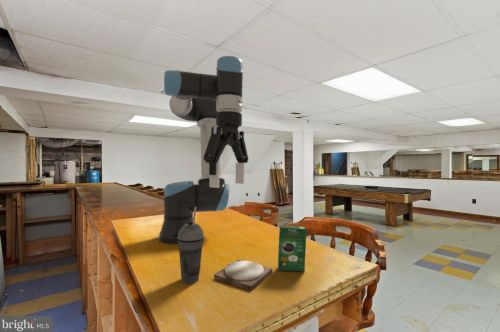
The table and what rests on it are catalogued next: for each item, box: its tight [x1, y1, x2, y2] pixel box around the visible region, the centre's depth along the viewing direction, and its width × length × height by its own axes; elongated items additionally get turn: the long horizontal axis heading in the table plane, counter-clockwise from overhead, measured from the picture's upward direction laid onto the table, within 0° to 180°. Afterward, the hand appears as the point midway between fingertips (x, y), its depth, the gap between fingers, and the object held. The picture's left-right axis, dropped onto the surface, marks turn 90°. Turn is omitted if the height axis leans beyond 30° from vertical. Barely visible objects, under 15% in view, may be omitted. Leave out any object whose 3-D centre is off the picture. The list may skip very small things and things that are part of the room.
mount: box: [213, 259, 273, 292], centre depth 71 cm, size 12×12×2 cm
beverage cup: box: [177, 207, 205, 285], centre depth 68 cm, size 7×7×20 cm
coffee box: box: [277, 225, 307, 273], centre depth 75 cm, size 8×3×13 cm, turn 87°
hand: (228, 185), depth 73 cm, fingers open, 13 cm apart
